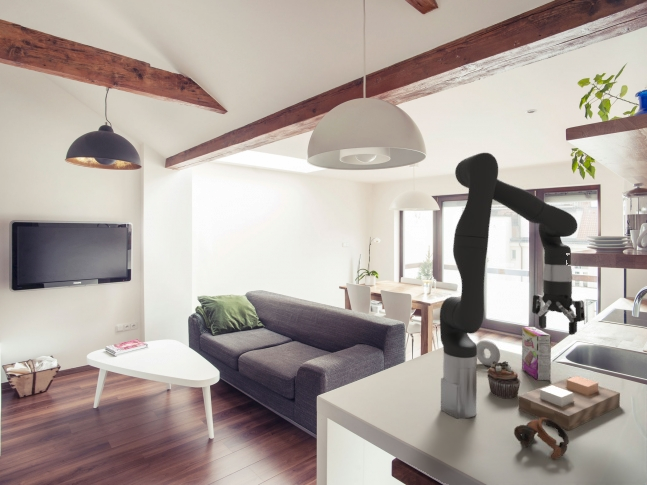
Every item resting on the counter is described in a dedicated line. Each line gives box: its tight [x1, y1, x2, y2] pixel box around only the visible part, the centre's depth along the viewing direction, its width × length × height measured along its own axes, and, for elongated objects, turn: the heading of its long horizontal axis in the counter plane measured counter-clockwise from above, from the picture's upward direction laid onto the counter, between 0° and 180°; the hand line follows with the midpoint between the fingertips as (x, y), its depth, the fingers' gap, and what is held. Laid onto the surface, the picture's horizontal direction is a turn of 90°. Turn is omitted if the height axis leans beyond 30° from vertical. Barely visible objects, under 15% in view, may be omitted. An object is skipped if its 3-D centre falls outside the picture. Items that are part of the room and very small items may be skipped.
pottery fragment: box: [513, 417, 570, 461], centre depth 91 cm, size 12×10×8 cm
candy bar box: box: [521, 326, 552, 382], centre depth 137 cm, size 11×5×16 cm, turn 179°
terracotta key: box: [566, 375, 599, 396], centre depth 115 cm, size 6×6×3 cm
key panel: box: [518, 376, 621, 431], centre depth 112 cm, size 28×14×4 cm, turn 119°
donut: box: [476, 339, 501, 367], centre depth 147 cm, size 10×4×10 cm, turn 34°
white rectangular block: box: [540, 385, 573, 407], centre depth 108 cm, size 6×6×3 cm
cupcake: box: [486, 361, 522, 400], centre depth 122 cm, size 10×10×10 cm
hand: (557, 331), depth 116 cm, fingers open, 8 cm apart
